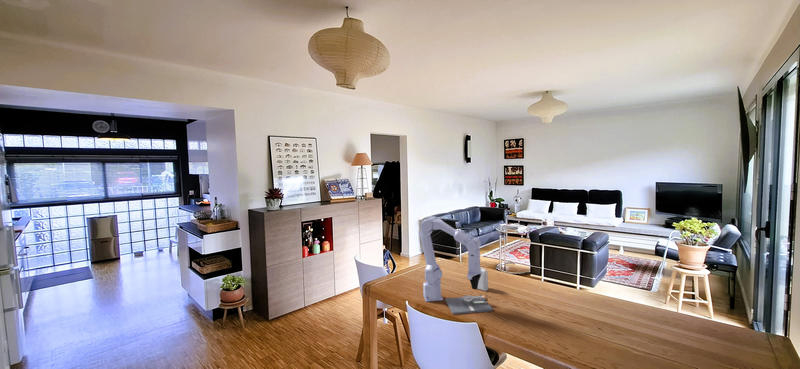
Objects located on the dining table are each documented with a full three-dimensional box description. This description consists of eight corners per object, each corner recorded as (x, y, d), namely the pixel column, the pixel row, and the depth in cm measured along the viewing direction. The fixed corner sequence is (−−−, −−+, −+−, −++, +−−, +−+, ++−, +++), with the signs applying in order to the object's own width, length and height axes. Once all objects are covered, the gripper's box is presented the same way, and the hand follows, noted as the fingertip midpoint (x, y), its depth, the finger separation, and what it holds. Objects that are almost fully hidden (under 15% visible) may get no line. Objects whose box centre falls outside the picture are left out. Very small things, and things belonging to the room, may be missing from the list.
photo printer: (470, 286, 184) (469, 266, 184) (474, 284, 187) (473, 264, 186) (484, 291, 176) (484, 270, 176) (489, 289, 179) (488, 268, 178)
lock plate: (452, 314, 152) (452, 310, 152) (445, 300, 168) (445, 296, 168) (493, 310, 154) (493, 306, 154) (481, 297, 170) (481, 293, 170)
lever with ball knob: (464, 303, 158) (463, 298, 158) (462, 299, 163) (462, 294, 163) (489, 302, 158) (489, 297, 158) (486, 298, 163) (486, 293, 163)
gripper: (477, 267, 149) (477, 295, 150) (486, 259, 161) (487, 285, 162) (462, 265, 153) (463, 292, 154) (473, 257, 165) (473, 282, 166)
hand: (474, 288), depth 158 cm, fingers closed
